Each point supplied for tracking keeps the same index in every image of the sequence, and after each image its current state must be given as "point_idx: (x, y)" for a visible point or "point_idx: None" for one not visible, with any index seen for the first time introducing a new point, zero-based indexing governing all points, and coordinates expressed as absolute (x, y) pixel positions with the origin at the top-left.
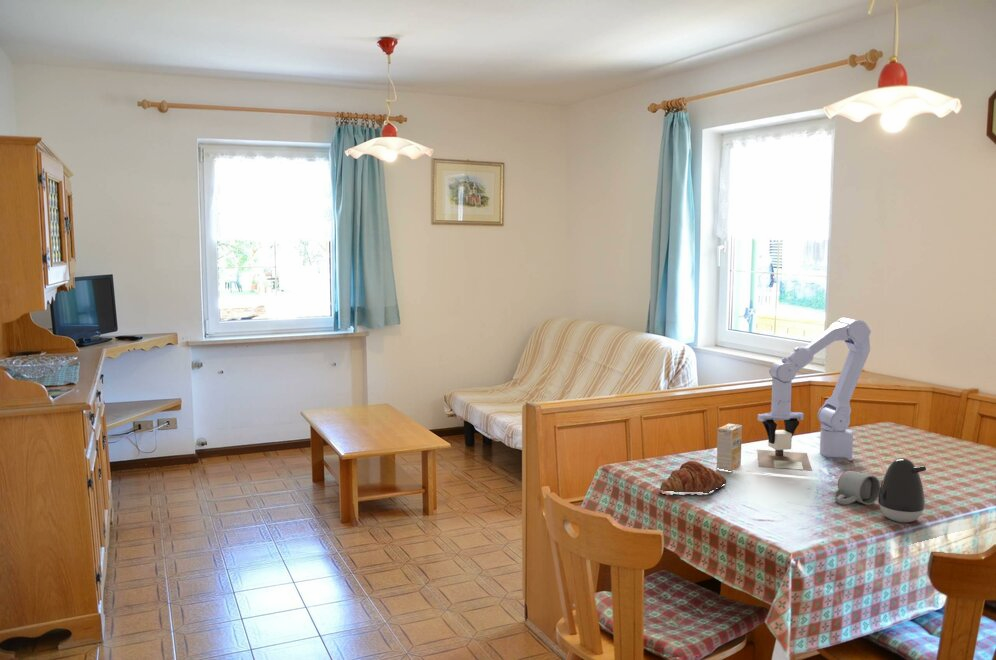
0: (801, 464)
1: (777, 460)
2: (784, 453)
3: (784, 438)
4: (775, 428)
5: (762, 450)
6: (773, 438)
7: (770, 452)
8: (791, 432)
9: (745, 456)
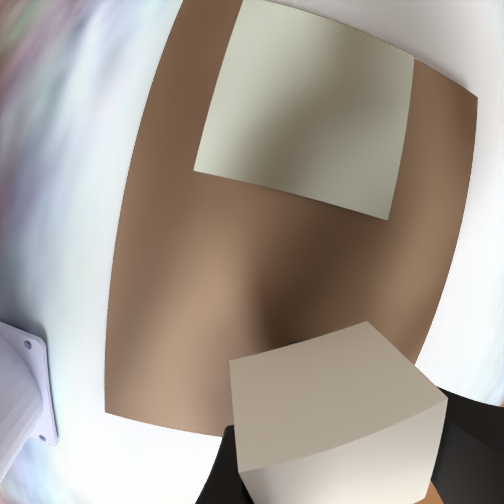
0: (214, 101)
1: (365, 208)
2: None
3: (329, 405)
4: (497, 443)
5: None
6: None
7: None
8: (232, 497)
9: (455, 346)
